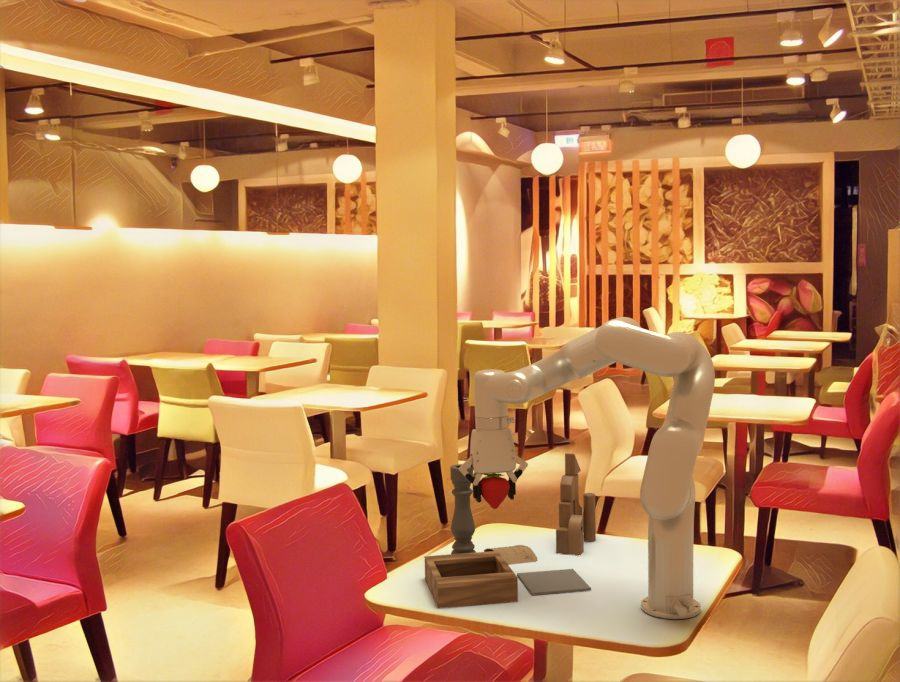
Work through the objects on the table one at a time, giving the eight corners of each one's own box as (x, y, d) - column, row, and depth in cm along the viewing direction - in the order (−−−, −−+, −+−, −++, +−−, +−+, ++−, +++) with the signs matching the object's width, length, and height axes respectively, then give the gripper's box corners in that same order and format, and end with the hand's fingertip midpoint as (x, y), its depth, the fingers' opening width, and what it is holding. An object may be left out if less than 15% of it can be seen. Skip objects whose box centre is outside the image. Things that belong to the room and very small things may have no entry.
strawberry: (505, 513, 217) (504, 469, 217) (474, 511, 220) (473, 468, 220) (514, 506, 223) (512, 464, 222) (484, 504, 226) (482, 463, 225)
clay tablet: (482, 552, 252) (482, 542, 251) (517, 548, 255) (517, 538, 255) (503, 569, 238) (503, 559, 238) (540, 564, 241) (540, 554, 241)
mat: (591, 590, 220) (591, 588, 220) (531, 595, 218) (531, 592, 218) (572, 571, 234) (572, 568, 234) (517, 575, 231) (517, 573, 231)
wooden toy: (581, 556, 245) (580, 460, 243) (555, 553, 248) (554, 458, 246) (597, 539, 259) (596, 448, 257) (573, 537, 262) (572, 446, 260)
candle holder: (481, 564, 241) (479, 466, 238) (464, 570, 236) (462, 470, 234) (462, 559, 245) (460, 462, 243) (446, 565, 240) (444, 467, 238)
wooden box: (517, 601, 214) (517, 577, 214) (438, 608, 211) (437, 583, 211) (498, 572, 234) (497, 550, 233) (425, 578, 231) (424, 556, 230)
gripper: (524, 418, 225) (526, 493, 227) (451, 423, 222) (454, 499, 223) (532, 423, 218) (535, 500, 219) (457, 428, 215) (460, 506, 216)
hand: (494, 499), depth 221 cm, fingers closed on strawberry, 7 cm apart
